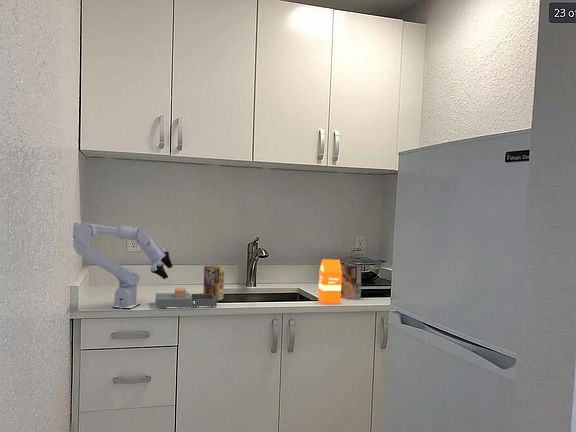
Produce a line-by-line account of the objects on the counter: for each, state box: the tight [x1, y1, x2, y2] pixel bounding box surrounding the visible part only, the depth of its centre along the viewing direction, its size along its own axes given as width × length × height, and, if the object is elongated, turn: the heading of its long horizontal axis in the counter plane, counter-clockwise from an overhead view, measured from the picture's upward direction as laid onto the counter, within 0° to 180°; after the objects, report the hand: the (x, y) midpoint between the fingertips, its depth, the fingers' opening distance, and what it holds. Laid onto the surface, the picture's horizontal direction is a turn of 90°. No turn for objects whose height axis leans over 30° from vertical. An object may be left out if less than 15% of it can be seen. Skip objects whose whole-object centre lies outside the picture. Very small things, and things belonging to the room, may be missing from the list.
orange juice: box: [317, 259, 342, 304], centre depth 241 cm, size 8×9×20 cm
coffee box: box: [340, 263, 363, 300], centre depth 253 cm, size 9×6×16 cm
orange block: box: [174, 287, 187, 297], centre depth 222 cm, size 4×6×3 cm, turn 18°
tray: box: [190, 292, 218, 308], centre depth 225 cm, size 10×13×4 cm
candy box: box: [203, 264, 225, 301], centre depth 238 cm, size 9×4×15 cm, turn 62°
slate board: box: [155, 292, 193, 309], centre depth 222 cm, size 14×13×4 cm
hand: (168, 272), depth 229 cm, fingers open, 7 cm apart
